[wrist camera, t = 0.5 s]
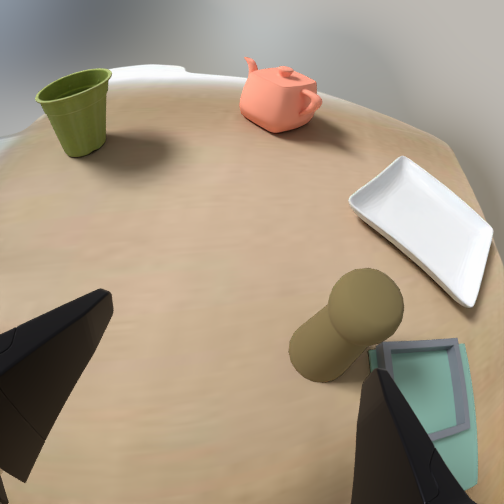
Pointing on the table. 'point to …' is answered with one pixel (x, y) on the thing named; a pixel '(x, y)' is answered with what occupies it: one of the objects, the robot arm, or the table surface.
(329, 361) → the cork
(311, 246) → the table surface
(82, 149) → the plant pot
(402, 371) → the board
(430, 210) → the salad plate
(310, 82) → the teapot
